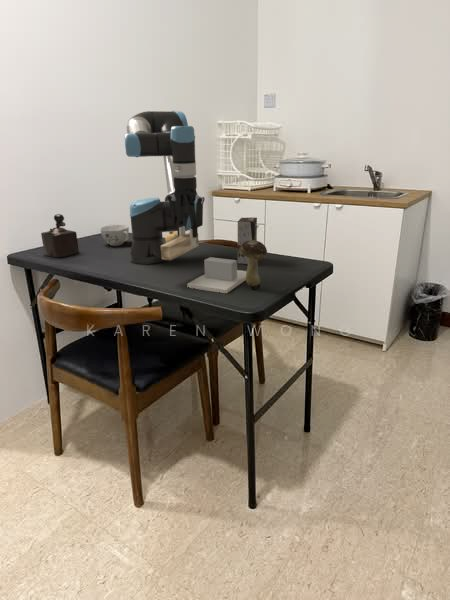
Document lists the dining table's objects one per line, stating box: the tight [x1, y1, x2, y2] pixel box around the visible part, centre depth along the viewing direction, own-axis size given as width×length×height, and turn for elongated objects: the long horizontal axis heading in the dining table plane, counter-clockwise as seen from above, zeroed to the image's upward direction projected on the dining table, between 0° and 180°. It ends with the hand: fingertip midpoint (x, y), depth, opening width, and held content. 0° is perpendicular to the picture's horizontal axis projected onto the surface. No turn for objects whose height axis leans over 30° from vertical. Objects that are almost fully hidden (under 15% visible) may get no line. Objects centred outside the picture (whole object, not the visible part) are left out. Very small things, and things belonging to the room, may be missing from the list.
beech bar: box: [161, 231, 200, 261], centre depth 142 cm, size 4×18×4 cm, turn 153°
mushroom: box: [240, 240, 268, 290], centre depth 129 cm, size 9×9×15 cm
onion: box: [164, 231, 180, 244], centre depth 186 cm, size 8×8×7 cm
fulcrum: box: [186, 256, 247, 294], centre depth 138 cm, size 14×20×7 cm
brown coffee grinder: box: [40, 213, 80, 259], centre depth 172 cm, size 16×11×18 cm
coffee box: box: [237, 217, 258, 265], centre depth 159 cm, size 9×6×16 cm
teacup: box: [99, 224, 130, 247], centre depth 189 cm, size 15×12×8 cm
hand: (188, 245), depth 147 cm, fingers closed on beech bar, 3 cm apart
